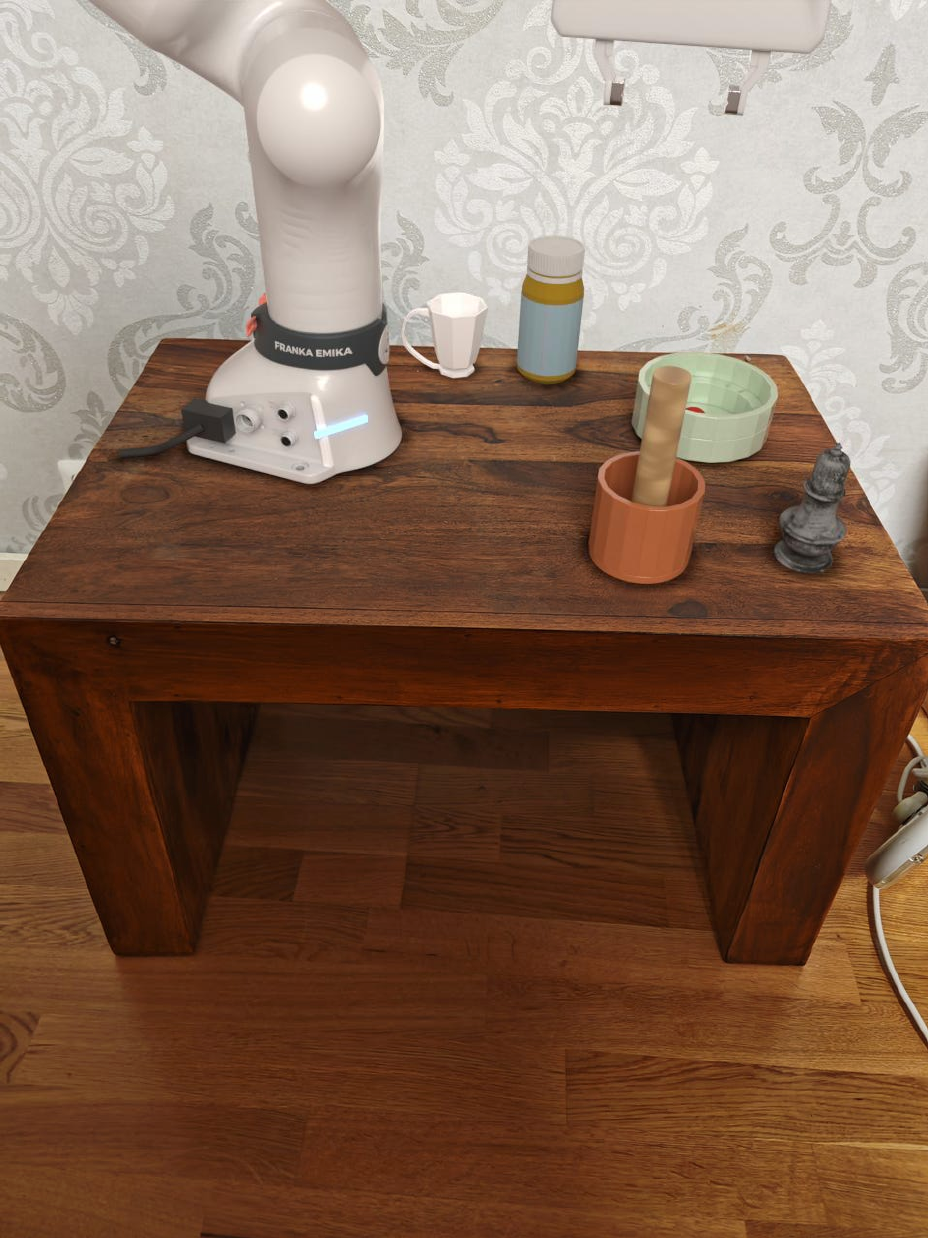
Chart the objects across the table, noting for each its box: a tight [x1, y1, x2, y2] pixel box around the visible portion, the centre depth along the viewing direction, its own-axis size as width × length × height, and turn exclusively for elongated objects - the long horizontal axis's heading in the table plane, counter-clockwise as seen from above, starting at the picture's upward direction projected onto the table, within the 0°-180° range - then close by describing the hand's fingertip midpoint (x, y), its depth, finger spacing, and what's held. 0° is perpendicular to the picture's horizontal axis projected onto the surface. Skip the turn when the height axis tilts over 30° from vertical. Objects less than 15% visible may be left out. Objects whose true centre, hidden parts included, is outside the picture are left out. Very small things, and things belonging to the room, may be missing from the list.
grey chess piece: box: [773, 442, 852, 574], centre depth 86 cm, size 6×6×12 cm
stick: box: [631, 366, 692, 507], centre depth 82 cm, size 3×3×18 cm
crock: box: [587, 450, 706, 585], centre depth 87 cm, size 9×9×8 cm
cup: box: [400, 291, 489, 379], centre depth 113 cm, size 7×10×8 cm
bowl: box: [631, 351, 779, 464], centre depth 104 cm, size 14×14×6 cm
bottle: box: [516, 235, 586, 385], centre depth 110 cm, size 7×7×15 cm
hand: (672, 108), depth 77 cm, fingers open, 8 cm apart
